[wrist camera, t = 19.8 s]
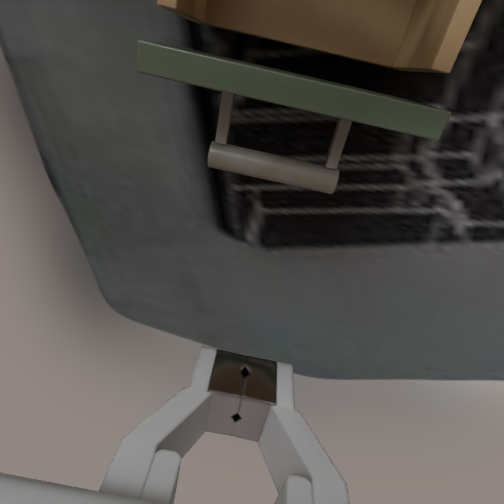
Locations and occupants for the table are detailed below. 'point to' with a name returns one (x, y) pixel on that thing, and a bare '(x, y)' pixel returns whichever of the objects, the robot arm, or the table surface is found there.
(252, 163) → the drawer
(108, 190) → the table surface
